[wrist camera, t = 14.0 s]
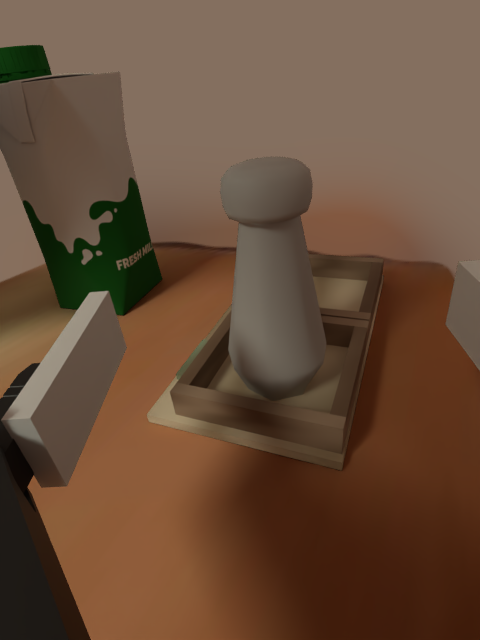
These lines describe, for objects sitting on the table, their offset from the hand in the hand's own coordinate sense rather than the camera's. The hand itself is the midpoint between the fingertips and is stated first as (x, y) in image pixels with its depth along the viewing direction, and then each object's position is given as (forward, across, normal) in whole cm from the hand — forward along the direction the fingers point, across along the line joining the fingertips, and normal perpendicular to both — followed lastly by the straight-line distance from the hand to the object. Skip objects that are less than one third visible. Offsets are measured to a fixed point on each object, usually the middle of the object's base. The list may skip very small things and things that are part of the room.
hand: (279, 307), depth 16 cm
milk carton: (+20, -15, -10) cm, 27 cm away
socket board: (+11, +1, -9) cm, 14 cm away
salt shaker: (+6, 0, -9) cm, 11 cm away
